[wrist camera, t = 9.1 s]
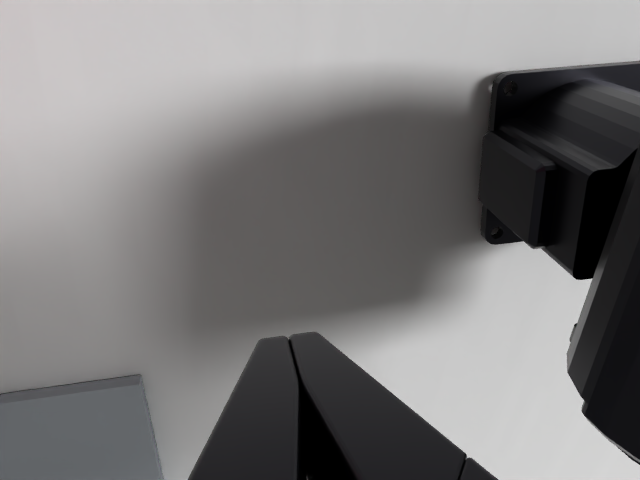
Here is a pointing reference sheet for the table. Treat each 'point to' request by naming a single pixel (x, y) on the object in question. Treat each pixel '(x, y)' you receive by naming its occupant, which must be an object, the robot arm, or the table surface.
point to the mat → (79, 433)
